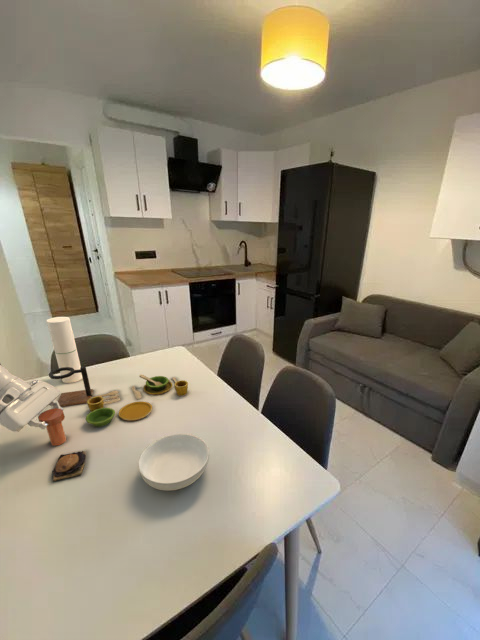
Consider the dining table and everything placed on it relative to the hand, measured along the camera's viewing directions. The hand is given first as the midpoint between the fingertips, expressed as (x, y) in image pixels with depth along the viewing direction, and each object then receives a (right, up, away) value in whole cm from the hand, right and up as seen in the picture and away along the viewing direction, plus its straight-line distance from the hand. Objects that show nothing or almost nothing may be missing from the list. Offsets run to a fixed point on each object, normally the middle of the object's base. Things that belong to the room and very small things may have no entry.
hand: (54, 419), depth 97 cm
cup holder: (-11, +2, +28) cm, 30 cm away
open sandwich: (+9, -14, -6) cm, 18 cm away
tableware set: (+17, 0, +29) cm, 33 cm away
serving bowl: (+43, -15, -6) cm, 46 cm away
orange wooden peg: (-1, -9, +4) cm, 10 cm away
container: (-22, +9, +43) cm, 49 cm away
